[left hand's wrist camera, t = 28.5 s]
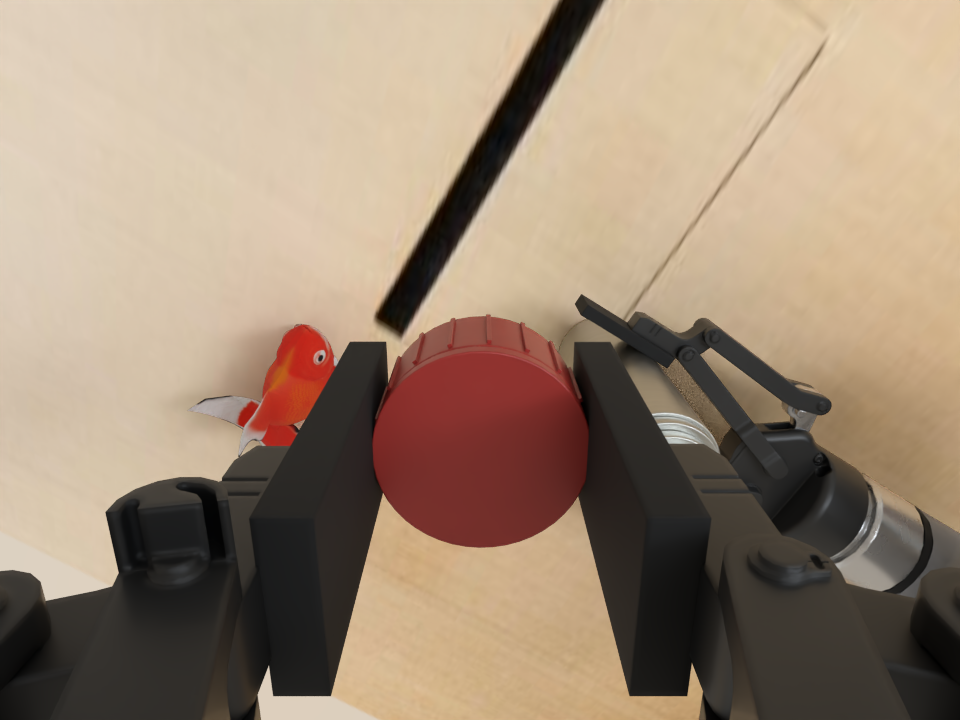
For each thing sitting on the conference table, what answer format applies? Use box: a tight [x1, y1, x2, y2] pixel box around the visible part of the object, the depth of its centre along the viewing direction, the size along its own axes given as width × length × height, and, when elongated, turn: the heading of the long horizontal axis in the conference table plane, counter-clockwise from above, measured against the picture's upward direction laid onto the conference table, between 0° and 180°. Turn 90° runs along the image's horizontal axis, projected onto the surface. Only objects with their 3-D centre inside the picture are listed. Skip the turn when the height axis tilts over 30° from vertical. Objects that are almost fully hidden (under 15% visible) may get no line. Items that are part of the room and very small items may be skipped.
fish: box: [187, 324, 338, 457], centre depth 47 cm, size 11×16×10 cm
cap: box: [372, 315, 589, 548], centre depth 13 cm, size 4×4×2 cm
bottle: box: [559, 319, 720, 454], centre depth 38 cm, size 6×6×24 cm
